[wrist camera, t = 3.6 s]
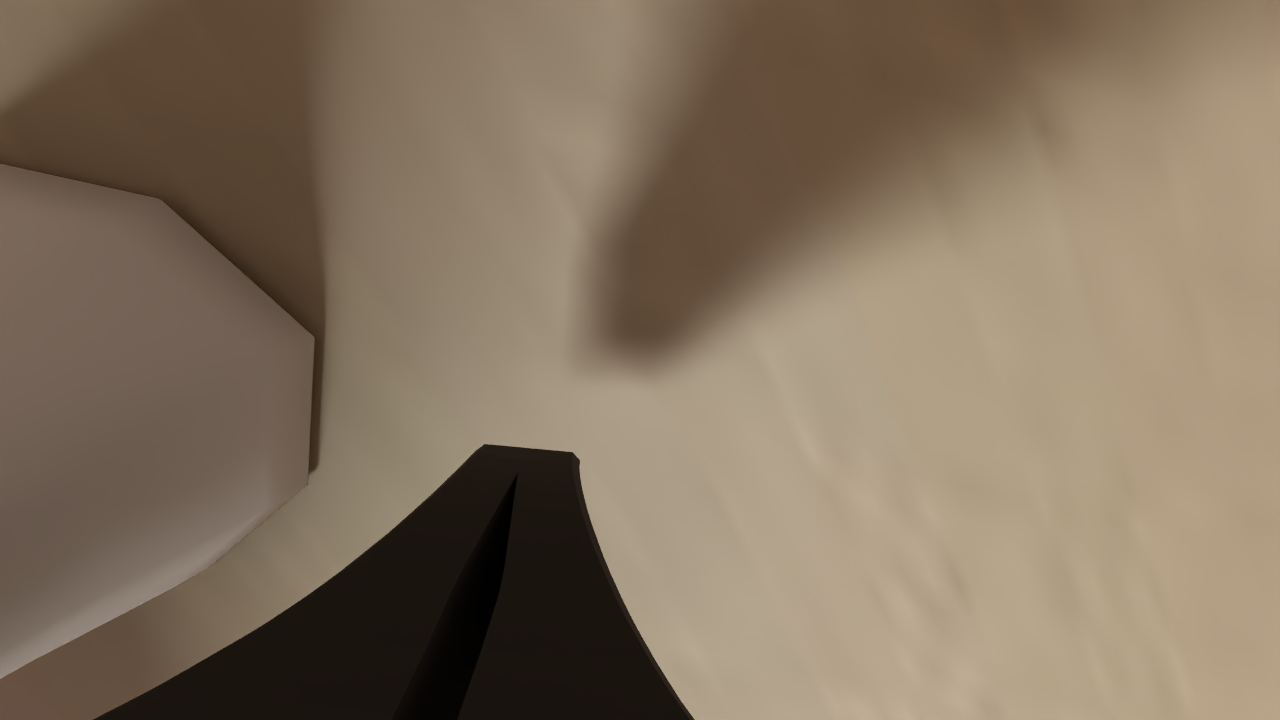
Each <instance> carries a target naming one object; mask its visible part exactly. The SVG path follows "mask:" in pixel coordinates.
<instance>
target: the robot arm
mask: <svg viewBox="0 0 1280 720" xmlns="http://www.w3.org/2000/svg"><path fill="white" fill-rule="evenodd" d="M579 464H580V460H579V459H578V458H577V457H576V456H575V454H574V453H573V452H564V451H553V450H542V449H531V448H521V447H510V446H499V445H488V444H484V445H483V446H482V447H480V448H479V449H478V450H476V451H475V452H474V453H473V454H472V455H471V456H470V457H469V458H468V459H467V460H466V461H465V462H464V463H463V464H462V465H461V466H460V467H459V468H458V469H457V470H456V471H455V472H454V473H453V474H452V475H451V476H450V477H449V478H448V479H447V480H446V481H445V482H444V483H443V484H442V485H441V486H440V487H439V488H438V489H437V490H436V491H435V492H434V493H433V494H432V495H431V496H429V497H428V498H427V499H426V500H425V501H424V502H423V503H422V504H421V505H419V506H418V507H417V508H416V509H415V510H414V511H413V512H412V513H410V514H409V515H408V516H407V517H406V518H405V519H404V520H403V521H402V522H400V523H399V524H398V525H397V526H396V527H395V528H394V529H392V530H391V531H390V532H389V533H388V534H387V535H385V536H384V537H383V538H382V539H380V540H379V541H378V542H377V543H375V544H374V545H373V546H372V547H370V548H369V549H368V550H367V551H365V552H364V553H363V554H362V555H360V556H359V557H358V558H357V559H355V560H354V561H353V562H352V563H350V564H349V565H348V566H347V567H345V568H344V569H343V570H342V571H340V572H339V573H338V574H336V575H335V576H334V577H332V578H331V579H330V580H328V581H327V582H325V583H324V584H323V585H321V586H320V587H319V588H317V589H316V590H314V591H313V592H312V593H310V594H309V595H307V596H306V597H305V598H303V599H302V600H300V601H299V602H297V603H296V604H294V605H293V606H291V607H290V608H288V609H287V610H285V611H284V612H282V613H281V614H279V615H278V616H276V617H275V618H273V619H272V620H270V621H269V622H267V623H266V624H264V625H262V626H261V627H259V628H258V629H256V630H254V631H253V632H251V633H249V634H248V635H246V636H244V637H243V638H241V639H239V640H237V641H236V642H234V643H232V644H230V645H229V646H227V647H225V648H223V649H222V650H220V651H218V652H217V653H215V654H213V655H211V656H210V657H208V658H206V659H204V660H203V661H201V662H199V663H197V664H196V665H194V666H192V667H191V668H189V669H187V670H185V671H184V672H182V673H180V674H178V675H177V676H175V677H173V678H171V679H170V680H168V681H166V682H165V683H163V684H161V685H159V686H157V687H155V688H153V689H152V690H150V691H148V692H146V693H144V694H142V695H140V696H138V697H136V698H134V699H132V700H130V701H129V702H127V703H125V704H123V705H121V706H119V707H117V708H115V709H113V710H111V711H109V712H107V713H105V714H103V715H101V716H99V717H98V718H96V719H94V720H694V718H693V717H692V716H691V714H690V713H689V712H688V710H687V709H686V707H685V706H684V705H683V703H682V702H681V700H680V699H679V697H678V696H677V694H676V693H675V691H674V690H673V688H672V686H671V685H670V683H669V682H668V680H667V678H666V677H665V675H664V674H663V672H662V670H661V669H660V667H659V666H658V664H657V662H656V661H655V659H654V657H653V656H652V654H651V652H650V650H649V649H648V647H647V645H646V643H645V642H644V640H643V638H642V636H641V635H640V633H639V631H638V629H637V627H636V625H635V624H634V622H633V620H632V618H631V616H630V614H629V612H628V610H627V608H626V606H625V604H624V602H623V600H622V598H621V595H620V593H619V591H618V589H617V587H616V585H615V582H614V580H613V578H612V576H611V574H610V571H609V569H608V566H607V564H606V562H605V559H604V557H603V554H602V551H601V549H600V546H599V543H598V540H597V538H596V535H595V532H594V529H593V526H592V524H591V520H590V517H589V514H588V511H587V507H586V503H585V499H584V495H583V491H582V486H581V480H580V470H579Z"/></svg>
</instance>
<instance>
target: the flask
mask: <svg viewBox="0 0 1280 720" xmlns="http://www.w3.org/2000/svg"><path fill="white" fill-rule="evenodd" d="M314 340H315V337H314V336H312V335H311V334H310V333H309V332H308V331H307V330H306V329H305V328H303V327H302V326H301V325H300V324H299V323H298V322H297V321H296V320H295V319H293V318H292V317H291V316H290V315H289V314H288V313H287V312H286V311H285V310H283V309H282V308H281V307H280V306H279V305H278V304H277V303H276V302H275V301H273V300H272V299H271V298H270V297H269V296H268V295H267V294H266V293H264V292H263V291H262V290H261V289H260V288H259V287H258V286H257V285H256V284H254V283H253V282H252V281H251V280H250V279H249V278H248V277H247V276H246V275H244V274H243V273H242V272H241V271H240V270H239V269H238V268H237V267H236V266H234V265H233V264H232V263H231V262H230V261H229V260H228V259H227V258H226V257H224V256H223V255H222V254H221V253H220V252H219V251H218V250H217V249H215V248H214V247H213V246H212V245H211V244H210V243H209V242H208V241H207V240H205V239H204V238H203V237H202V236H201V235H200V234H199V233H198V232H197V231H195V230H194V229H193V228H192V227H191V226H190V225H189V224H188V223H187V222H185V221H184V220H183V219H182V218H181V217H180V216H179V215H178V214H176V213H175V212H174V211H173V210H172V209H171V208H170V207H169V206H168V205H166V204H165V203H164V202H163V201H162V200H161V199H158V198H154V197H149V196H145V195H140V194H136V193H131V192H127V191H122V190H118V189H113V188H108V187H104V186H99V185H95V184H90V183H86V182H81V181H77V180H72V179H68V178H63V177H59V176H54V175H49V174H45V173H40V172H36V171H31V170H27V169H22V168H18V167H13V166H9V165H4V164H0V679H1V678H3V677H5V676H6V675H8V674H10V673H12V672H14V671H15V670H17V669H19V668H21V667H22V666H24V665H26V664H28V663H30V662H31V661H33V660H35V659H37V658H39V657H41V656H43V655H45V654H47V653H49V652H51V651H53V650H55V649H56V648H58V647H60V646H62V645H64V644H66V643H68V642H70V641H72V640H74V639H76V638H78V637H80V636H81V635H83V634H85V633H87V632H89V631H91V630H93V629H95V628H97V627H99V626H101V625H103V624H105V623H107V622H108V621H110V620H112V619H114V618H116V617H118V616H120V615H122V614H124V613H126V612H128V611H130V610H132V609H133V608H135V607H137V606H139V605H141V604H143V603H145V602H147V601H149V600H151V599H153V598H155V597H157V596H159V595H160V594H162V593H164V592H166V591H168V590H170V589H172V588H173V587H175V586H177V585H179V584H181V583H182V582H184V581H186V580H188V579H189V578H191V577H193V576H195V575H197V574H198V573H200V572H202V571H204V570H205V569H207V568H209V567H210V566H211V565H213V564H214V563H215V562H216V561H217V560H218V559H220V558H221V557H222V556H223V555H224V554H226V553H227V552H228V551H229V550H230V549H232V548H233V547H234V546H235V545H236V544H237V543H239V542H240V541H241V540H242V539H243V538H245V537H246V536H247V535H248V534H249V533H251V532H252V531H253V530H254V529H255V528H256V527H258V526H259V525H260V524H261V523H262V522H264V521H265V520H266V519H267V518H268V517H270V516H271V515H272V514H273V513H274V512H275V511H277V510H278V509H279V508H280V507H281V506H283V505H284V504H285V503H286V502H287V501H289V500H290V499H291V498H292V497H293V496H294V495H296V494H297V493H298V492H299V491H300V490H302V489H303V488H304V487H305V486H306V485H308V467H309V446H310V425H311V403H312V382H313V361H314Z"/></svg>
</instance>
